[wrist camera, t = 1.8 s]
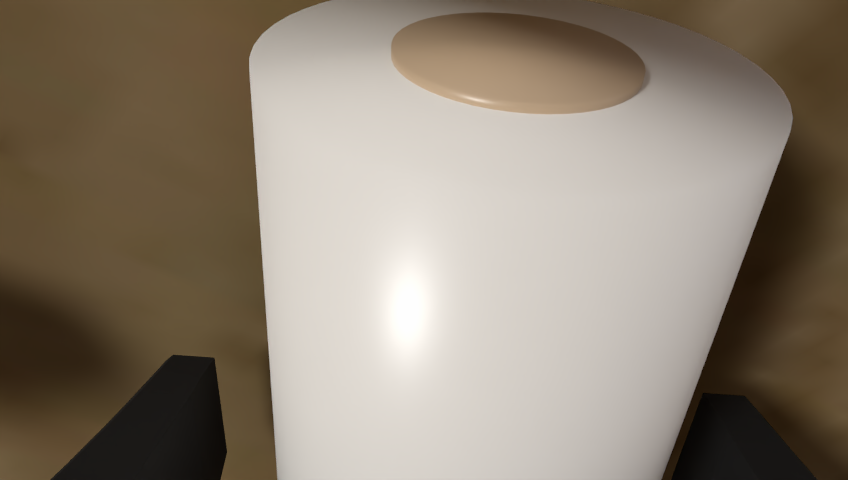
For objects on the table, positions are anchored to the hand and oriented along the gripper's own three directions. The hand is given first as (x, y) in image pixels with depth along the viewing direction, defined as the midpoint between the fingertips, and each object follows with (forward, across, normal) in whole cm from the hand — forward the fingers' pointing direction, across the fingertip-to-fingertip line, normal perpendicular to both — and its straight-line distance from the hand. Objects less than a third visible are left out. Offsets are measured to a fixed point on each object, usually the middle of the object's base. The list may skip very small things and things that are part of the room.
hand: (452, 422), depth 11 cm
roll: (-1, 0, 0) cm, 1 cm away
